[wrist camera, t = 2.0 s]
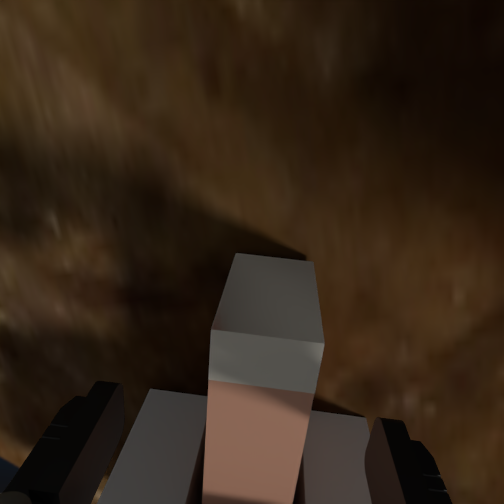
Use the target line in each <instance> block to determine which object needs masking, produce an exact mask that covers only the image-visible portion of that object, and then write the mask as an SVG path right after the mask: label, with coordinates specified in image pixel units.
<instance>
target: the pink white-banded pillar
mask: <svg viewBox="0 0 504 504" xmlns="http://www.w3.org/2000/svg"><path fill="white" fill-rule="evenodd" d="M324 344H325V343H324V336H323V329H322V321H321V314H320V307H319V300H318V292H317V285H316V278H315V270H314V263H313V262H310V261H301V260H293V259H284V258H276V257H267V256H259V255H250V254H241V253H236V254H235V257H234V260H233V263H232V266H231V269H230V272H229V275H228V278H227V281H226V285H225V288H224V291H223V294H222V297H221V300H220V303H219V306H218V309H217V312H216V315H215V319H214V322H213V325H212V328H211V338H210V357H209V376H208V380H209V382H208V401H207V420H206V438H205V457H204V475H203V494H202V504H292V503H293V498H294V493H295V488H296V483H297V478H298V473H299V468H300V463H301V458H302V453H303V448H304V443H305V438H306V433H307V428H308V423H309V418H310V413H311V408H312V403H313V398H314V394H315V389H316V384H317V379H318V374H319V369H320V364H321V359H322V354H323V349H324Z"/></svg>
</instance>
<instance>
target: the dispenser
mask: <svg viewBox="0 0 504 504" xmlns="http://www.w3.org/2000/svg"><path fill="white" fill-rule="evenodd" d="M207 401H208V396H201V395H194V394H186V393H179V392H171V391H164V390H157V389H150V390H149V392H148V394H147V397H146V399H145V401H144V403H143V405H142V407H141V409H140V412H139V414H138V416H137V418H136V420H135V422H134V425H133V427H132V429H131V431H130V433H129V435H128V438H127V440H126V442H125V444H124V446H123V448H122V451H121V453H120V455H119V457H118V459H117V461H116V464H115V466H114V468H113V470H112V472H111V474H110V477H109V479H108V481H107V483H106V485H105V487H104V490H103V492H102V494H101V496H100V498H99V500H98V503H97V504H202V494H203V475H204V457H205V438H206V420H207ZM369 438H370V433H369V429H368V425H367V421H366V418H364V417H357V416H349V415H342V414H335V413H327V412H320V411H312V410H311V413H310V418H309V423H308V428H307V433H306V438H305V443H304V448H303V453H302V458H301V463H300V468H299V473H298V478H297V483H296V488H295V493H294V498H293V503H292V504H372V502H371V497H370V493H369V488H368V483H367V479H366V474H365V466H364V459H365V451H366V448H367V444H368V441H369Z"/></svg>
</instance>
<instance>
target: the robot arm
mask: <svg viewBox="0 0 504 504" xmlns="http://www.w3.org/2000/svg"><path fill="white" fill-rule="evenodd" d="M124 420H125V416H124V396H123V385H122V384H120V383H113V382H105V381H97V382H96V383H95V384H94V385H93V387H92V389H91V390H90V392H89V393H88V395H87V396H86V397H81V396H76V397H74V398H73V399H72V400H71V401H69V402H68V403H67V404H65V405H64V406H63V407H62V408H61V409H60V410H59V412H58V413H57V415H56V416H55V418H54V419H53V421H52V422H51V425H50V426H48V428H47V429H46V431H45V432H44V434H43V435H42V438H40V440H39V441H38V442H37V444H36V445H35V447H34V448H33V450H32V451H31V453H30V454H29V456H28V457H27V459H26V460H25V461H24V463H23V464H22V466H21V467H20V469H19V470H18V472H17V473H16V475H15V476H14V478H13V479H12V481H11V482H10V483H9V485H8V486H7V488H6V489H5V490H4V491H3V492H2V493H1V494H0V504H91V502H92V500H93V498H94V495H95V493H96V491H97V489H98V487H99V484H100V482H101V480H102V478H103V476H104V473H105V471H106V469H107V467H108V465H109V462H110V460H111V458H112V456H113V454H114V451H115V449H116V447H117V445H118V443H119V440H120V438H121V435H122V432H123V428H124ZM364 466H365V474H366V479H367V483H368V488H369V493H370V497H371V502H372V504H452V502H451V499H450V497H449V494H447V489H446V487H445V485H444V482H443V480H442V479H441V475H440V472H439V470H438V467H437V465H436V463H435V460H434V458H433V456H432V455H431V454H430V453H429V451H428V450H427V449H426V448H425V447H424V445H423V444H422V443H421V442H420V441H414V440H410V437H409V434H408V432H407V429H406V426H405V424H404V422H403V421H402V420H394V419H386V418H379V417H377V418H376V419H375V422H374V425H373V428H372V431H371V435H370V438H369V441H368V444H367V448H366V451H365V459H364Z"/></svg>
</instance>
